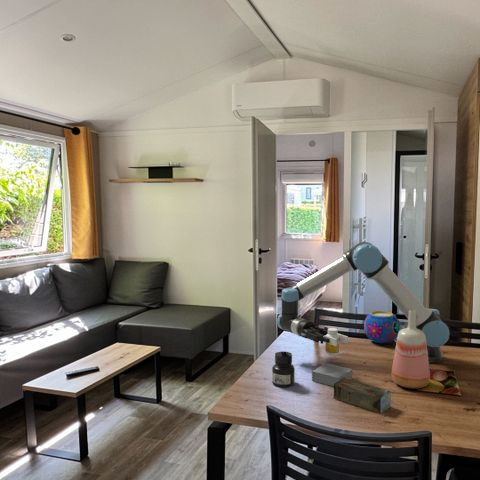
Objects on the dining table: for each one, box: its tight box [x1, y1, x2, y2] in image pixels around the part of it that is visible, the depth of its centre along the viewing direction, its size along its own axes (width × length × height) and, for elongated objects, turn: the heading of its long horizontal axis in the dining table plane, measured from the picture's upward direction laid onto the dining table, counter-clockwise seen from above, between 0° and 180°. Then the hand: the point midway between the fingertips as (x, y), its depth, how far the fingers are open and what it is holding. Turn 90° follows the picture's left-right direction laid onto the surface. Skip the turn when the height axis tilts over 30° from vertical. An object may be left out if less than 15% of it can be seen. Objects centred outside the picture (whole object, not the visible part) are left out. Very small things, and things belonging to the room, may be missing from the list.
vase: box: [390, 310, 431, 389], centre depth 186 cm, size 14×14×30 cm
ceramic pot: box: [363, 310, 401, 345], centre depth 243 cm, size 18×18×15 cm
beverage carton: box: [333, 378, 392, 414], centre depth 171 cm, size 8×19×7 cm, turn 47°
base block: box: [311, 363, 353, 387], centre depth 193 cm, size 12×12×4 cm
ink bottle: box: [271, 350, 296, 388], centre depth 189 cm, size 10×9×12 cm
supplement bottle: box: [325, 327, 340, 356], centre depth 191 cm, size 5×5×10 cm
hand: (341, 341), depth 187 cm, fingers closed on supplement bottle, 5 cm apart
